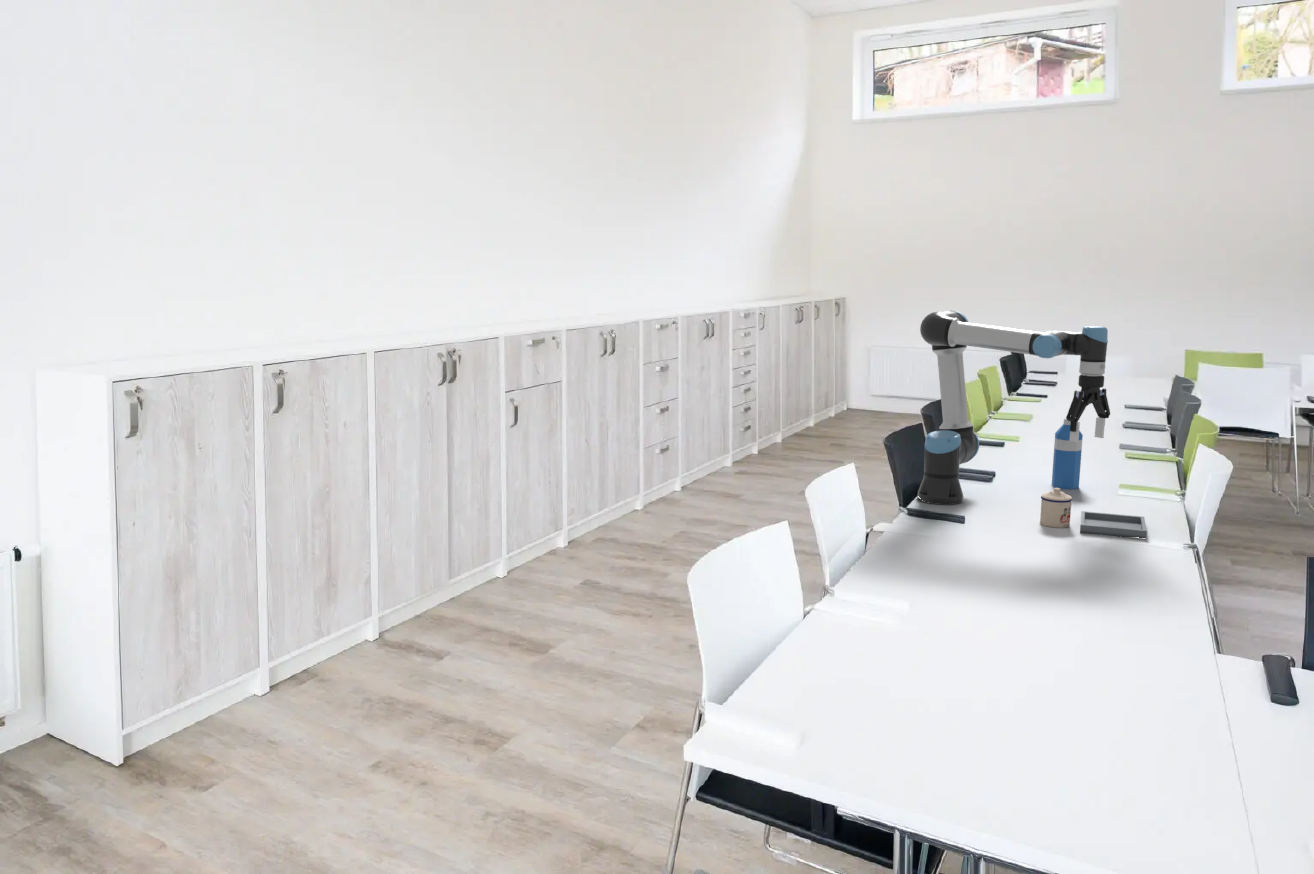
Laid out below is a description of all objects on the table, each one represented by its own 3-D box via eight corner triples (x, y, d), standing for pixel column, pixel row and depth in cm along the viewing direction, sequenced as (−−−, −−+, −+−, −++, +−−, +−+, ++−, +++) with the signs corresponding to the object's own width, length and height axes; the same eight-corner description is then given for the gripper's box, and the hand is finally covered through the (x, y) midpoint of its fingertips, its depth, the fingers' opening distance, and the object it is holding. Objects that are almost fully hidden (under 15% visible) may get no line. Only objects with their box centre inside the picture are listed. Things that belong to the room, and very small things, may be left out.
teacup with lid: (1065, 530, 300) (1067, 493, 298) (1035, 525, 306) (1037, 488, 304) (1077, 522, 309) (1079, 486, 307) (1047, 517, 315) (1050, 482, 313)
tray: (1079, 533, 297) (1080, 524, 296) (1080, 518, 313) (1081, 511, 312) (1146, 539, 289) (1146, 531, 289) (1143, 524, 306) (1144, 516, 305)
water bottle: (1081, 485, 360) (1086, 418, 355) (1076, 490, 352) (1081, 421, 348) (1054, 482, 365) (1058, 416, 360) (1049, 487, 357) (1053, 419, 352)
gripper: (1078, 378, 305) (1073, 445, 309) (1125, 373, 318) (1119, 437, 322) (1057, 375, 311) (1052, 441, 315) (1104, 371, 324) (1098, 434, 328)
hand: (1086, 439), depth 318 cm, fingers open, 13 cm apart
